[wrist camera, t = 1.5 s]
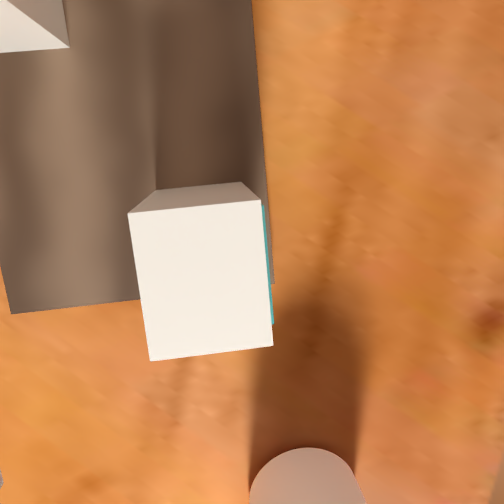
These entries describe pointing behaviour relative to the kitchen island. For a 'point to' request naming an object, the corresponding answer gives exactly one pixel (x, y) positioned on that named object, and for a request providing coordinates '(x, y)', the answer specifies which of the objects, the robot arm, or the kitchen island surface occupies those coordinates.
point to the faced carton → (32, 25)
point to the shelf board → (119, 138)
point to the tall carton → (202, 270)
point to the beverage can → (306, 480)
